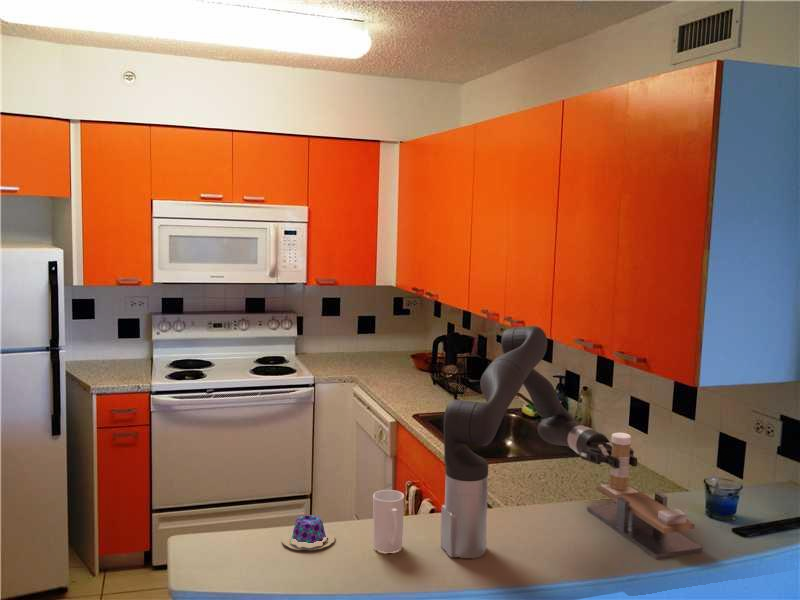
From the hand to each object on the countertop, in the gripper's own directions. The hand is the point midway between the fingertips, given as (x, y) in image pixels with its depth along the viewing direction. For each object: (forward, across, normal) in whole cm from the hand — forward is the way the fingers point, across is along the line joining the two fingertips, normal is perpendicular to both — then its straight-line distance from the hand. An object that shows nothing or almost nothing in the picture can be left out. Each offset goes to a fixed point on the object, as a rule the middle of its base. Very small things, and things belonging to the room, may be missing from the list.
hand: (627, 463), depth 174 cm
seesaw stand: (+6, 0, +14) cm, 15 cm away
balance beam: (+6, 0, +8) cm, 10 cm away
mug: (0, -60, +14) cm, 62 cm away
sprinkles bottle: (-3, 0, +7) cm, 8 cm away
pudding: (-10, -76, +14) cm, 78 cm away
